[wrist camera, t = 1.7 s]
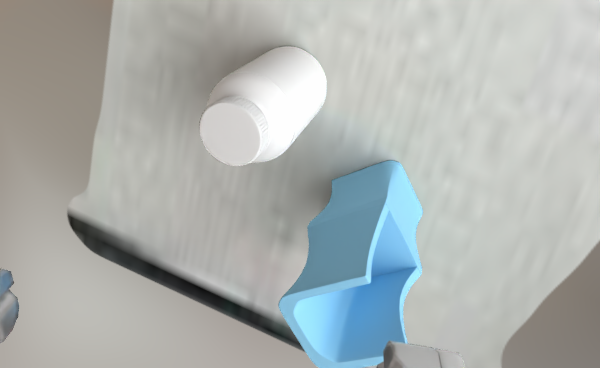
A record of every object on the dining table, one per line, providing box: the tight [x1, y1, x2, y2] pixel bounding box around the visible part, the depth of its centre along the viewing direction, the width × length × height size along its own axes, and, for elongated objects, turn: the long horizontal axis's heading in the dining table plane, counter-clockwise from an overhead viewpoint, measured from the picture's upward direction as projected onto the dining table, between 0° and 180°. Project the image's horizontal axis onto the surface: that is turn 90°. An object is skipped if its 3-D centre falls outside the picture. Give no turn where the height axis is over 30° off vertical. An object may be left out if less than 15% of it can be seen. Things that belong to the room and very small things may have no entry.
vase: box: [279, 160, 423, 368], centre depth 42 cm, size 8×8×20 cm
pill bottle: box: [199, 46, 327, 166], centre depth 41 cm, size 8×8×15 cm
